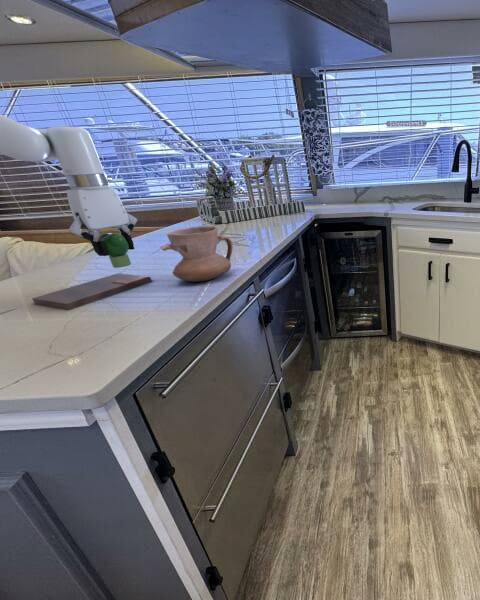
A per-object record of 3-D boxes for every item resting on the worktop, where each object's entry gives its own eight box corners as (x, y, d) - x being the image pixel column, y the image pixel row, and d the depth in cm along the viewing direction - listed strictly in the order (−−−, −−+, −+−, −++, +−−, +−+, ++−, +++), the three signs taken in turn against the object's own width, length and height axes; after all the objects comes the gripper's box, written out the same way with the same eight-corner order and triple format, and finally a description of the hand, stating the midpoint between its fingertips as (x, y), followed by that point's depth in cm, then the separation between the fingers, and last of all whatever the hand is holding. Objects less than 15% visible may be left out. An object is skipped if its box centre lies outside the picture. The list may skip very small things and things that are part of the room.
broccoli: (119, 269, 85) (105, 236, 82) (101, 268, 88) (87, 235, 84) (142, 263, 91) (130, 231, 87) (125, 261, 93) (112, 230, 89)
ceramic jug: (179, 291, 85) (162, 238, 79) (167, 279, 94) (150, 231, 89) (248, 274, 96) (237, 226, 91) (231, 265, 106) (219, 222, 100)
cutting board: (69, 309, 77) (65, 303, 76) (34, 303, 81) (31, 297, 80) (152, 281, 94) (150, 275, 93) (120, 277, 98) (118, 272, 98)
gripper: (116, 180, 89) (139, 244, 96) (35, 185, 74) (70, 260, 81) (134, 179, 87) (157, 245, 94) (54, 185, 72) (89, 262, 79)
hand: (116, 251), depth 88 cm, fingers closed on broccoli, 5 cm apart
